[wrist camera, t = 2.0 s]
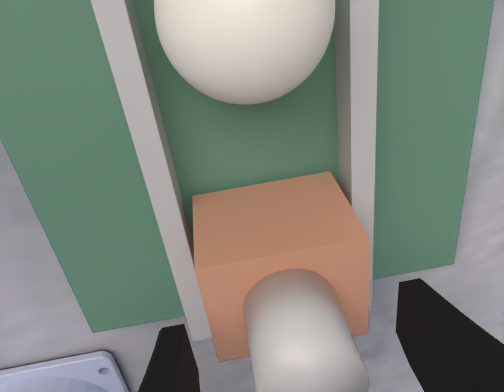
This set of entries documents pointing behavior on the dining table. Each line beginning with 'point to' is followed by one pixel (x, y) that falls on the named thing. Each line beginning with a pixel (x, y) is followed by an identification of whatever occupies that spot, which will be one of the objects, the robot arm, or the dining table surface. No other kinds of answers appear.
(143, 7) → the pitch board
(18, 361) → the dining table surface
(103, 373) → the robot arm
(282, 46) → the ball
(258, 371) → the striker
